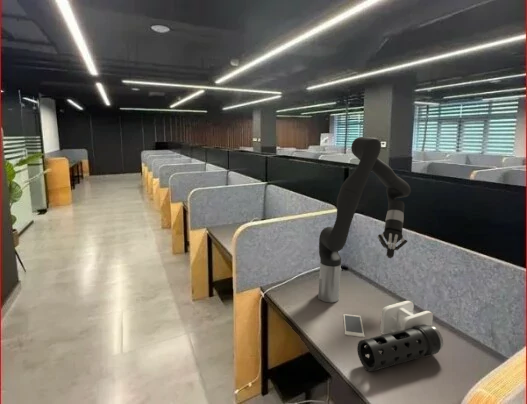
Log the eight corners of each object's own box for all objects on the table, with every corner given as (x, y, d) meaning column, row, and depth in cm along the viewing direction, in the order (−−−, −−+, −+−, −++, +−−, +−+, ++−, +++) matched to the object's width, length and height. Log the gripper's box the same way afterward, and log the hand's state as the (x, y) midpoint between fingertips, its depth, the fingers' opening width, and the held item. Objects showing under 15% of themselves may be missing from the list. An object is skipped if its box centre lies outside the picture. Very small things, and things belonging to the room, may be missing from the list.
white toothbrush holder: (400, 351, 108) (404, 321, 105) (378, 334, 117) (380, 306, 115) (430, 340, 114) (434, 311, 112) (406, 324, 123) (409, 298, 121)
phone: (344, 336, 116) (345, 333, 116) (343, 316, 130) (343, 313, 130) (364, 338, 115) (364, 336, 115) (360, 318, 128) (360, 315, 128)
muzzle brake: (355, 361, 103) (357, 333, 101) (420, 343, 112) (423, 317, 110) (374, 381, 94) (377, 351, 92) (443, 361, 103) (447, 333, 101)
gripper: (381, 215, 141) (375, 252, 135) (411, 221, 138) (408, 259, 132) (377, 221, 148) (372, 256, 141) (407, 227, 145) (403, 263, 138)
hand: (389, 257), depth 136 cm, fingers closed
